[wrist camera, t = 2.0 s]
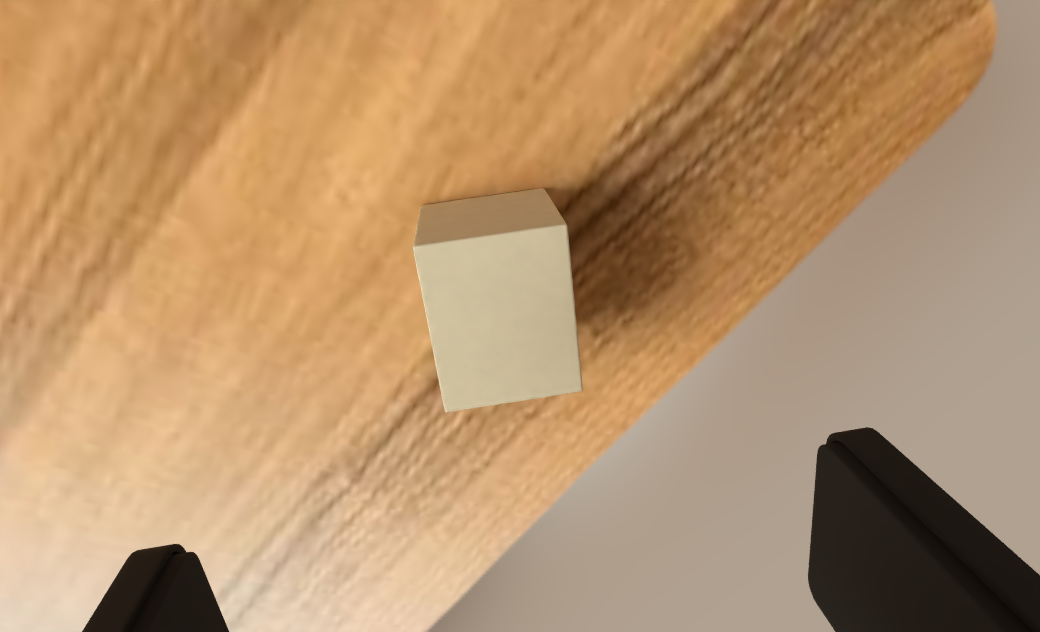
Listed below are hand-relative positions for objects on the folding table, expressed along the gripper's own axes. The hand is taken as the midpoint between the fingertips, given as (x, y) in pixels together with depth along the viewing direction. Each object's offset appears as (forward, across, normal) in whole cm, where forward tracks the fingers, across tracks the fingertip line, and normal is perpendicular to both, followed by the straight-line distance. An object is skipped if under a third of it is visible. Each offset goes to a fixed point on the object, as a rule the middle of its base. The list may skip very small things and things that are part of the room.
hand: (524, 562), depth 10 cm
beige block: (+13, 0, 0) cm, 13 cm away
